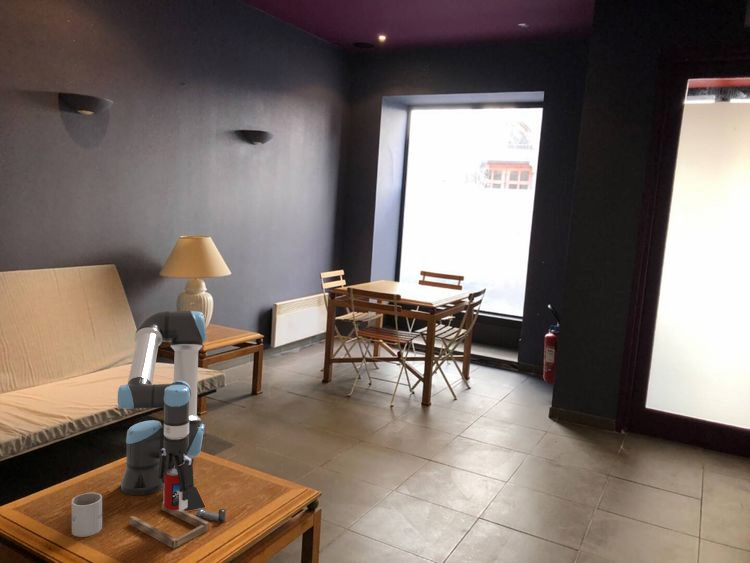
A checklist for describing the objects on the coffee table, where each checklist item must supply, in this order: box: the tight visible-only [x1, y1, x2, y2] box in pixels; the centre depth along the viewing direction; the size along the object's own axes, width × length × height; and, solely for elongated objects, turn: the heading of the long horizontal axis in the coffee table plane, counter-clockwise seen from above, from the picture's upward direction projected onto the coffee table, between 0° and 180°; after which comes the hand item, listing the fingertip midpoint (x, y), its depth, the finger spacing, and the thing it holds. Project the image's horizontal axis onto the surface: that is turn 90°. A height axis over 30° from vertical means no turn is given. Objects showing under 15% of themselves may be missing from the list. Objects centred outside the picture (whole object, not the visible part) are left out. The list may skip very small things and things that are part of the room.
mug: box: [71, 492, 103, 538], centre depth 185 cm, size 12×9×10 cm
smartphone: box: [184, 486, 207, 513], centre depth 206 cm, size 8×17×1 cm, turn 28°
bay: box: [129, 501, 210, 549], centre depth 188 cm, size 22×13×2 cm, turn 57°
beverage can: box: [163, 466, 181, 511], centre depth 184 cm, size 7×7×12 cm
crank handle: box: [195, 508, 227, 523], centre depth 194 cm, size 11×3×4 cm, turn 72°
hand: (175, 505), depth 185 cm, fingers closed on beverage can, 7 cm apart
